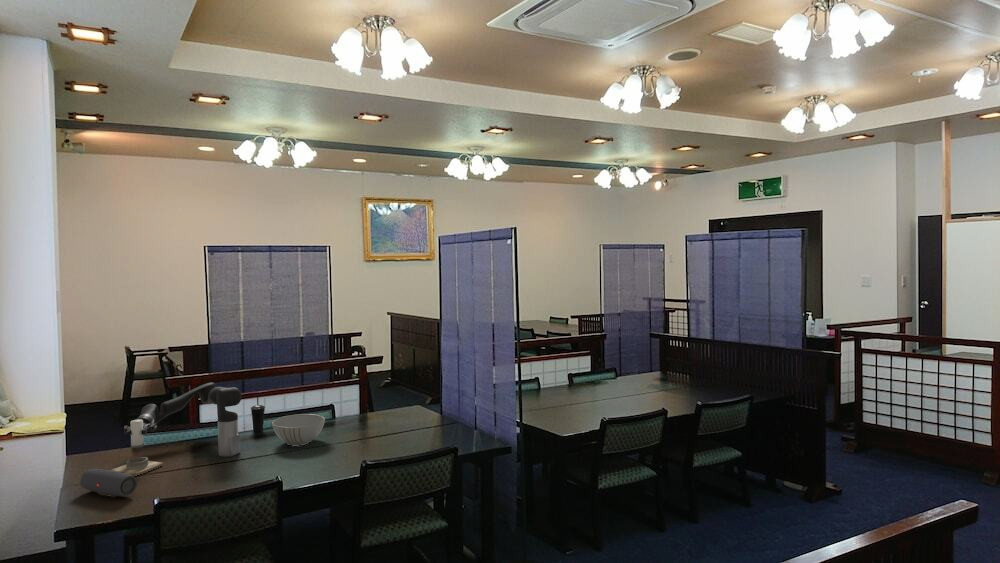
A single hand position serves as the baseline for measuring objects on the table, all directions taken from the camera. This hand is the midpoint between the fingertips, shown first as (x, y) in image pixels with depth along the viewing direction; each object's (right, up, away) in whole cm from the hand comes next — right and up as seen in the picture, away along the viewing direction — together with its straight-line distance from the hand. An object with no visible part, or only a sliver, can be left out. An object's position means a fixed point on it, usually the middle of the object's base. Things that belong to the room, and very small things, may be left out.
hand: (135, 433), depth 287 cm
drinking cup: (+31, -15, +65) cm, 74 cm away
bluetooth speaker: (+5, -19, -28) cm, 34 cm away
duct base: (-1, -18, +2) cm, 18 cm away
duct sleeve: (-1, -7, +3) cm, 7 cm away
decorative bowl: (+61, -16, +43) cm, 77 cm away
